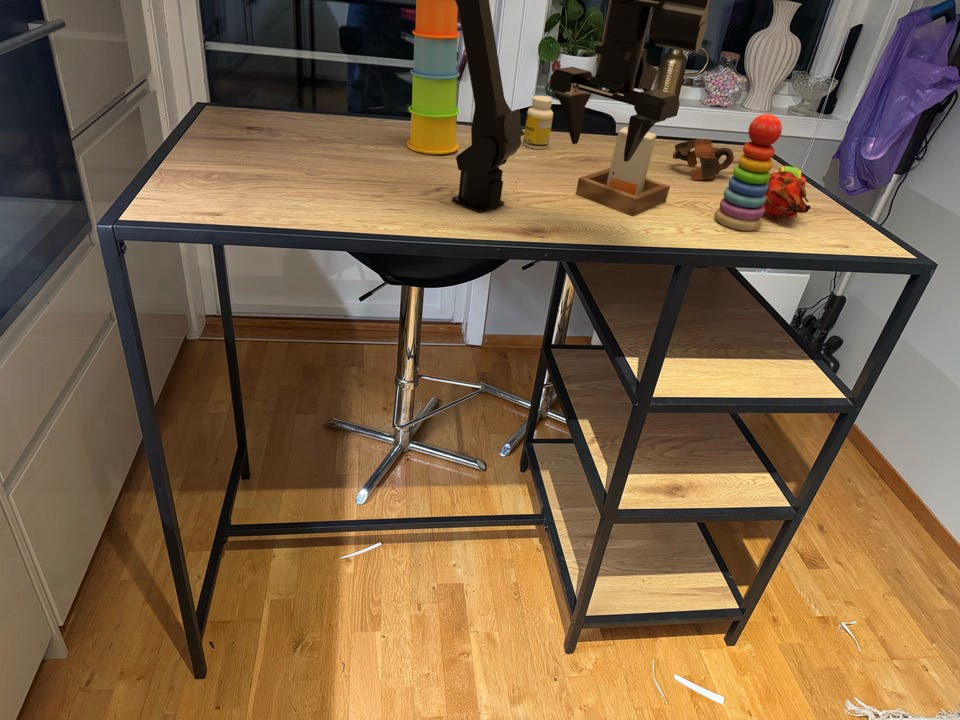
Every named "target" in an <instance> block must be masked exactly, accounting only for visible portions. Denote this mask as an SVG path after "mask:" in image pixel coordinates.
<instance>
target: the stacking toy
mask: <svg viewBox="0 0 960 720" xmlns="http://www.w3.org/2000/svg"><path fill="white" fill-rule="evenodd" d="M782 125H783V124H782V123H781V120H780V119H779V118H778V117H777V116H775V115H773V114H770V113H764V114H760V115H757V117H754V119H753V120H752V121H751V122H750V125H749V127H748V138H749V140H750V141H747V142H746V143H745V144H744V145H743V147H742V152H743V154H742V155H741V156H739V157H738V164H737V165H736V166H735V167H734V168H733V171H732V173H733V176H731V177H730V178H729V180H728V186H727V187H726V188H725V189H724V191H723V198H722V199H721V200H720V203H719V207H717V209H716V210H715V213H714V218H715V220H716V221H717V222H718V223H720V225H723V226H725V227H727V228H729V229H734V230H739V231H745V232H747V231H748V232H749V231H755V230H757V229H758V228H760V227H761V225H762V223H763V220H762V219H763V218H762V217H763V216H764V214H765V209H764V207H763V204H764V203H765V201H766V197H765V195H764V194H765V193H766V192H767V190H768V185H767V183H766V182H767V181H768V180H769V179H770V175H771V173H770V171H771V170H772V169H773V165H774V163H773V160H772V158H774V155H775V153H776V149H775V147H774V146H773V144H776V142H777V141H778V140H779V138H780V136H781V135H782V133H783V132H782V131H783V126H782Z"/></svg>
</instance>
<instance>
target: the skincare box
mask: <svg viewBox="0 0 960 720" xmlns="http://www.w3.org/2000/svg"><path fill="white" fill-rule="evenodd" d="M628 127H629V126H624V127H623V128H621V129H620V130H619V131H618V133H617V138H616V142H615V146H614V150H613V155H612V159H611V163H610V167H609V168H610V171H609V176H608V180H607V184H606V186H609V187H612V188H615V189H617V190H620V191H623V192H626V193H628V194H631V195H634V196H635V195H637V194H640V193H642V190H643V186H644V182H645V178H647V174H648V171H649V167H650V162H651V158H652V156H653V155H652V153H653V150H654V146H655V143H656V139H657V133H653V132H649V131H648V132H647V134H646V135H645V136H644V138H643V140H642V141H641V143H640V144H639V146H638V148H637V149H636V151H635V152H634V154H633V156H632V157H631V159H630V160H629V161H627V162H625V161H624V150H625V144H626V139H627V133H628Z"/></svg>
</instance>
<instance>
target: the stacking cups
mask: <svg viewBox="0 0 960 720" xmlns="http://www.w3.org/2000/svg"><path fill="white" fill-rule="evenodd" d="M458 16H459V12H458V7H457V4H456V2H455V0H416V3H415V29H413V30H412V34H413V36H414V44H413V68H412V69H410V74H411V75H412V92H411V95H412V96H411V98H412V99H411V100H412V101H411V105H409V106H408V111H409V113H411V117H410V139H408V140H407V141H406V145H407V147H408V148H409V149H411V151H414V152H417V153H421V154H426V155H435V156H436V155H447V154H449V155H450V154H452V153H455V152H457V151H458V150H459V147H460V146H459V144H458V142H457V141H456V139H457V136H456V135H457V116H458V115H459V114H460V110H459V108H458V107H457V93H458V91H457V90H458V78H459V76H460V72H459V71H457V70H458V69H457V65H458V64H457V63H458V38H460V37H461V35H460V33H459V32H458Z"/></svg>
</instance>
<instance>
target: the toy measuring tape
mask: <svg viewBox="0 0 960 720" xmlns="http://www.w3.org/2000/svg"><path fill="white" fill-rule="evenodd" d="M779 171H788V172H792V173H794V174H795V176H796V177H797V178H799V179H802V180H803V181H804V185H803V186H802V187H803V188H804V189H805V188H806V184H807V179H806V177H804V176H802V171H801V170H800V169H799V168H798V167H796V166H795V167H793V166H789V165H788V166H787V165H784V166H780V167H779V169H778V170H777V171H773V172H771V173H770V175H771V174H773V173H776V172H779Z"/></svg>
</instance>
